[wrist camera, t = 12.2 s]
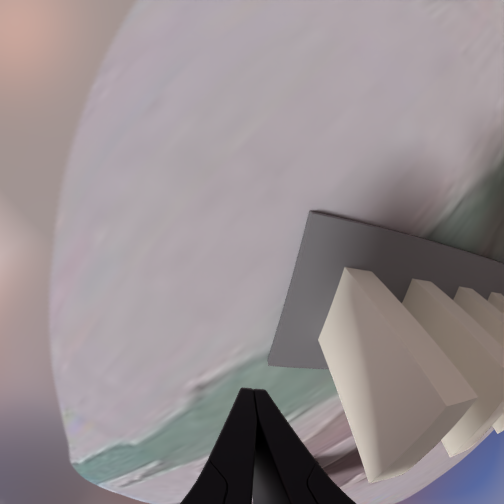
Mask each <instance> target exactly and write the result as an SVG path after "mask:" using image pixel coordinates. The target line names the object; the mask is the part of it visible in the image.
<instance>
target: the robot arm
mask: <svg viewBox="0 0 504 504" xmlns="http://www.w3.org/2000/svg"><path fill="white" fill-rule="evenodd" d="M252 497H253V504H356V503H355V502H354V501H353V500H351V499H350V498H349V497H348V496H347V495H346V494H345V493H344V492H343V491H342V490H341V489H340V488H339V487H338V486H337V485H336V484H335V483H334V482H333V481H332V480H331V479H330V478H329V476H328V475H327V474H326V473H325V472H324V470H323V469H322V468H321V466H320V465H319V463H318V462H316V460H315V459H314V457H313V456H312V455H311V453H310V452H309V451H308V449H307V448H306V447H305V445H304V444H303V443H302V441H301V440H300V438H299V437H298V436H297V434H296V433H295V432H294V430H293V429H292V427H291V426H290V425H289V423H288V422H287V420H286V419H285V417H284V416H283V415H282V413H281V412H280V410H279V409H278V407H277V406H276V404H275V403H274V401H273V400H272V399H271V397H270V396H269V394H268V393H267V391H266V390H264V389H251V388H241V389H240V391H239V393H238V395H237V398H236V400H235V402H234V404H233V407H232V409H231V411H230V413H229V415H228V418H227V420H226V422H225V424H224V426H223V429H222V431H221V433H220V435H219V437H218V439H217V441H216V444H215V446H214V448H213V450H212V452H211V454H210V456H209V458H208V461H207V462H206V464H205V466H204V468H203V470H202V472H201V474H200V476H199V477H198V479H197V481H196V483H195V484H194V485H193V487H192V488H191V490H190V491H189V493H188V494H187V495H186V497H185V498H184V499H183V500H182V502H181V503H180V504H252Z"/></svg>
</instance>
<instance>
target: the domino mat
mask: <svg viewBox="0 0 504 504" xmlns="http://www.w3.org/2000/svg"><path fill="white" fill-rule="evenodd" d="M344 267H348V268H354V269H360V270H366V271H371V272H373V273H374V274H375V275H376V277H377V278H378V279H379V280H380V281H381V282H382V283H383V284H384V285H385V286H386V287H387V288H388V289H389V290H390V291H391V292H392V294H393V295H394V296H395V297H396V298H397V299H398V300H399V301H400V302H401V303H402V302H403V300H404V297H405V295H406V293H407V290H408V288H409V285H410V283H411V281H412V278H413V279H418V280H424V281H430V282H432V283H433V284H435V285H436V286H437V287H438V288H439V289H441V290H442V291H443V292H444V293H445V294H446V295H447V296H449V297H450V298H451V299H452V300H453V299H454V297H455V295H456V293H457V290H458V288H459V286H460V287H465V288H471V289H473V290H474V291H476V292H477V293H478V294H480V295H481V296H482V297H483V298H485V299H486V300H487V301H488V298H489V296H490V294H491V292H495V293H500V294H502V295H503V296H504V263H501V262H498V261H495V260H492V259H489V258H486V257H483V256H480V255H477V254H473V253H470V252H467V251H464V250H461V249H457V248H454V247H451V246H447V245H444V244H440V243H437V242H434V241H430V240H427V239H423V238H419V237H416V236H412V235H408V234H405V233H401V232H397V231H393V230H389V229H386V228H382V227H378V226H374V225H370V224H366V223H361V222H357V221H353V220H349V219H345V218H340V217H336V216H332V215H327V214H323V213H318V212H313V211H309V215H308V219H307V223H306V227H305V231H304V234H303V238H302V242H301V246H300V250H299V253H298V257H297V261H296V265H295V268H294V272H293V276H292V279H291V283H290V286H289V290H288V293H287V297H286V300H285V304H284V307H283V311H282V314H281V317H280V321H279V324H278V327H277V331H276V334H275V337H274V340H273V344H272V347H271V350H270V353H269V356H268V366H280V367H294V368H312V369H329V367H328V364H327V362H326V359H325V356H324V354H323V351H322V349H321V346H320V343H319V341H318V339H319V336H320V334H321V331H322V329H323V326H324V324H325V321H326V318H327V316H328V313H329V310H330V308H331V305H332V302H333V299H334V297H335V294H336V291H337V288H338V285H339V282H340V279H341V276H342V273H343V270H344Z"/></svg>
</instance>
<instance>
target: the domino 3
mask: <svg viewBox="0 0 504 504" xmlns="http://www.w3.org/2000/svg"><path fill="white" fill-rule="evenodd" d="M453 301H454V302H455V303H457V304H458V305H459V306H460V307H461V308H462V309H463V310H464V311H465V312H466V313H468V314H469V315H470V316H471V317H472V318H473V319H474V320H475V321H476V322H477V323H478V324H479V325H480V326H481V327H482V328H483V329H484V330H486V331H487V332H488V333H489V334H490V335H491V336H492V337H493V338H494V339H495V340H496V341H497V342H498V343H499V344H500V345H501V346H502V347H503V349H504V314H503V313H501V312H500V311H499V310H498V309H497V308H495V307H494V306H493V305H492V304H491V303H489V302H488V301H487V300H486V299H485V298H483V297H482V296H481V295H480V294H478V293H477V292H476V291H474V290H473V289H471V288H465V287H460V286H459V288H458V290H457V293H456V295H455V297H454V299H453ZM492 426H493V428H494V429H495V431H496V432H497V434H498V433H500V432H502V431H503V430H504V413H503V414H502V415H501V416H500V417H499V418H498V420H497V421H496V422H495V423H494V424H493V425H492Z"/></svg>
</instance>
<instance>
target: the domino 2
mask: <svg viewBox="0 0 504 504" xmlns="http://www.w3.org/2000/svg"><path fill="white" fill-rule="evenodd" d="M402 304H403V306H404V307H405V308H406V309H407V310H408V311H409V312H410V313H411V315H412V316H413V317H414V318H415V319H416V320H417V321H418V322H419V324H420V325H421V326H422V327H423V328H424V329H425V331H426V332H427V333H428V334H429V335H430V336H431V338H432V339H433V340H434V341H435V342H436V344H437V345H438V346H439V347H440V348H441V350H442V351H443V352H444V353H445V355H446V356H447V357H448V358H449V359H450V361H451V362H452V363H453V364H454V366H455V367H456V368H457V370H458V371H459V372H460V373H461V375H462V376H463V377H464V379H465V380H466V381H467V383H468V384H469V385H470V387H471V388H472V389H473V391H474V392H475V393H476V395H477V396H478V398H477V400H476V401H475V402H474V403H473V405H472V406H471V407H470V408H469V410H468V411H467V412H466V413H465V414H464V416H463V417H462V418H461V419H460V420H459V421H458V422H457V424H456V425H455V426H454V427H453V428H452V429H451V430H450V431H449V432H448V433H447V434H446V435H445V436H444V437H443V439H442V440H441V441H442V443H443V445H444V447H445V449H446V451H447V453H448V454H449V456H450V457H452V456H455V455H457V454H459V453H461V452H464V451H466V450H468V449H470V448H471V447H472V446H473V445H474V444H475V443H476V442H477V441H478V440H479V439H480V438H481V437H482V436H483V435H484V434H485V433H486V432H487V431H488V430H489V429H490V427H491V426H492V425H493V424H494V423H495V422H496V421H497V420H498V418H499V417H500V416H501V415H502V414H503V413H504V349H503V347H502V346H501V345H500V344H499V343H498V342H497V341H496V340H495V339H494V338H493V337H492V336H491V335H490V334H489V333H488V332H487V331H486V330H484V329H483V328H482V327H481V326H480V325H479V324H478V323H477V322H476V321H475V320H474V319H473V318H472V317H471V316H470V315H469V314H468V313H466V312H465V311H464V310H463V309H462V308H461V307H460V306H459V305H458V304H457V303H455V302H454V301H453V300H452V299H451V298H450V297H449V296H447V295H446V294H445V293H444V292H443V291H442V290H441V289H439V288H438V287H437V286H436V285H435V284H433V283H432V282H430V281H424V280H418V279H413V278H412V281H411V283H410V285H409V288H408V290H407V293H406V295H405V297H404V300H403V302H402Z"/></svg>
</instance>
